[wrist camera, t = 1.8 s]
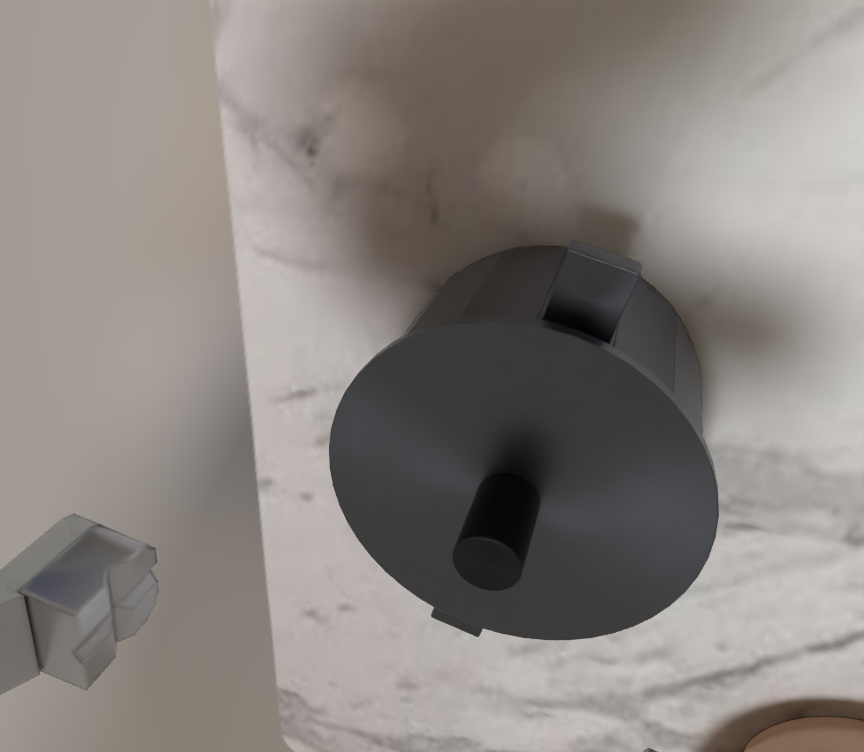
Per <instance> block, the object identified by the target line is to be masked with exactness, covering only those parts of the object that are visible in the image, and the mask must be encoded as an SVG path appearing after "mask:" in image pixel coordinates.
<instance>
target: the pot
mask: <svg viewBox="0 0 864 752" xmlns="http://www.w3.org/2000/svg"><path fill="white" fill-rule="evenodd" d="M641 268H642V263H640V262H637V261H634V260H631V259H628V258H626V257H623V256H620V255H617V254H614V253H611V252H608V251H605V250H603V249H600V248H597V247H594V246H591V245H588V244H585V243H582V242H579V241H577V240H572V241H571V243H570V245H569V248H566V247H559V246H531V247H522V248H515V249H511V250H507V251H502V252H498V253H496V254H493V255H491V256H488V257H485V258H483V259H480V260H479V261H477V262H475V263H473V264H471V265H469V266H468V267H466V268H464V269H463V270H462V271H460V272H458V273H456V274H454V275H453V276H451V277H450V279H449V280H448V281H447V282H446V283H445V284H444V286H443V287H442V288H441V289H440V290H439V291H438V292H437V294H436V295H435V296H434V297H433V299H432V300H431V301H430V302H429V303H428V304H427V306H426V307H425V308H424V309H423V310H422V311H421V313H420V314H419V315H418V317H417V318H416V319H415V320H414V322H413V323H412V324H411V326H410V327H409V328H408V329H407V331H406V332H405V333H404V335H403V336H405V335H407V334H409V333H411V332H413V331H415V330H417V329H420V328H423V327H426V326H429V325H431V324H434V323H437V322H441V321H446V320H451V319H456V318H461V317H468V316H482V315H504V316H521V317H527V318H533V319H538V320H544V321H549V322H553V323H556V324H559V325H563V326H566V327H569V328H573V329H576V330H579V331H581V332H583V333H586V334H588V335H590V336H593V337H595V338H597V339H600V340H602V341H604V342H606V343H608V344H610V345H611V346H613V347H615V348H616V349H618V350H620V351H622V352H623V353H625V354H627V355H628V356H630V357H632V358H633V359H634V360H636V361H637V362H638V363H639V364H641V365H642V366H643V367H645V368H646V369H647V370H649V371H650V372H651V373H653V374H654V375H655V376H656V377H657V378H658V379H659V380H660V381H661V382H662V383H663V384H664V385H665V386H666V387H667V388H668V389H669V390H670V391H671V392H672V393H673V394H674V395H675V396H676V397H677V399H678V400H679V401H680V402H681V404H682V405H683V406H684V408H685V409H686V410H687V411H688V413H689V414H690V415H691V417H692V419H693V420H694V422H695V424H696V426H697V427H698V429H699V431H700V433H701V434H702V436H703V430H702V400H701V370H700V363H699V360H698V358H697V356H696V354H695V350H694V347H693V344H692V342H691V339H690V336H689V333H688V332H687V330H686V328H685V326H684V324H683V323H682V321H681V319H680V317H679V316H678V314H677V313H676V312H675V310H674V309H673V308H672V306H671V305H670V304H669V302H668V301H667V300H666V299H665V298H664V297H663V296H662V295H661V294H660V293H659V292H658V291H657V290H656V289H655V288H654V287H653V286H652V285H650V284H649V283H648V282H647V281H645V280H644V279H643V278H641V277H640V275H641ZM403 336H402V337H403ZM431 617H432V618H435V619H437V620H439V621H442V622H444V623H446V624H449V625H451V626H453V627H456V628H458V629H460V630H462V631H465V632H467V633H469V634H472V635H474V636H476V637H479V636H480V633H481V631H482V629H483V628H480V627H478V626H475V625H472V624H470V623H467V622H464V621H462V620H459V619H457V618H455V617H453V616H451V615H449V614H447V613H444V612H442V611H440V610H438V609H437V608H435V607H434V609H433V612H432V614H431Z"/></svg>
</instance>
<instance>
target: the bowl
mask: <svg viewBox="0 0 864 752" xmlns="http://www.w3.org/2000/svg"><path fill="white" fill-rule="evenodd" d="M744 752H864V721H861V720H856V719H851V718H839V717H809V718H802V719H796V720H790V721H786V722H783V723H780V724H777V725H774V726H772V727H770V728H768V729H766V730H764V731H763V732H761V733H759V734H758V735H757V736H755V737H754V738H753V739H752V740H751V741H750V742H749V743H748V745H747V746H746V748H745V750H744Z"/></svg>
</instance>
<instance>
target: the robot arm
mask: <svg viewBox="0 0 864 752" xmlns="http://www.w3.org/2000/svg"><path fill="white" fill-rule="evenodd" d="M156 563H157V556H156V548H154V547H151V546H149V545H147V544H145V543H142V542H140V541H138V540H135V539H133V538H131V537H128V536H126V535H124V534H121V533H119V532H117V531H114V530H112V529H110V528H107V527H105V526H103V525H101V524H98V523H96V522H94V521H91V520H89V519H86V518H84V517H82V516H79V515H77V514H72V515H69V516H67V517H64V518H62V519H61V520H60V521H58V522H57V523H56V524H55V525H54V526H53V527H51V528H50V529H49V530H48V531H46V532H45V533H44V534H43V535H42V536H41V537H40V538H38V539H37V540H36V541H34V542H33V543H32V544H31V545H30V546H28V547H27V548H26V549H25V550H24V551H22V552H21V553H20V554H19V555H18V556H16V557H15V558H14V559H13V560H12V561H11V562H9V563H8V564H7V565H6V566H5V567H3V568H2V569H1V570H0V695H1V694H3V693H5V692H7V691H9V690H11V689H13V688H15V687H16V686H19V685H21V684H22V683H24V682H26V681H28V680H30V679H32V678H34V677H36V676H38V675H40V671H41V672H44V673H46V674H49V675H51V676H53V677H56V678H58V679H60V680H63V681H65V682H68V683H70V684H72V685H75V686H77V687H79V688H81V689H84V690H87V689H88V688H89V687H90V686H91V685H92V684H93V683H94V681H95V680H96V679H97V678H98V677H99V676H100V675H101V673H102V672H103V671H104V670H105V669H106V667H108V665H109V664H110V663H111V662H112V661H113V660H114V659H115V657H116V649H117V642H119V641H122V640H124V639H127V638H129V637H132V636H134V635H135V634H136V633H137V632H138V631H139V630H140V628H141V627H142V626H143V625H144V624H145V622H146V621H147V619H148V617H149V616H150V614H151V612H152V610H153V608H154V606H155V604H156V600H157V596H158V591H159V590H158V589H159V588H158V580H157V578H156V577H155V575H154V574H153V572H152V571H151V568H152V567H153V566H154V565H155V564H156ZM643 752H658V751H655V750H652V749H650V748H647V749H646V750H644V751H643Z"/></svg>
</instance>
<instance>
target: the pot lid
mask: <svg viewBox="0 0 864 752" xmlns="http://www.w3.org/2000/svg"><path fill="white" fill-rule="evenodd" d="M329 460H330V471H331V476H332V482H333V487H334V490H335V493H336V496H337V499H338V502H339V505H340V507H341V509H342V511H343V514H344V516H345V518H346V520H347V522H348V524H349V525H350V527H351V529H352V530H353V532H354V534H355V535H356V537H357V538H358V540H359V541H360V543H361V544H362V545H363V546H364V548H365V549H366V550H367V552H368V553H369V554H370V555H371V557H372V558H373V559H374V560H375V561H376V562H377V563H378V564H379V565H380V566H381V567H382V568H383V569H384V570H385V571H386V572H387V573H388V574H389V575H390V576H391V577H393V578H394V579H395V580H396V581H397V582H398V583H399V584H401V585H402V586H403V587H404V588H406V589H407V590H409V591H410V592H411V593H413V594H414V595H416V596H417V597H418V598H420V599H421V600H423V601H425V602H427V603H428V604H430V605H432V606H433V607H435V608H437V609H438V610H440V611H442V612H444V613H447V614H449V615H451V616H453V617H455V618H457V619H459V620H462V621H464V622H467V623H470V624H472V625H475V626H478V627H480V628H484V629H487V630H491V631H494V632H498V633H501V634H507V635H512V636H517V637H522V638H531V639H541V640H575V639H585V638H593V637H598V636H603V635H607V634H612V633H615V632H618V631H621V630H624V629H627V628H630V627H633V626H635V625H637V624H640V623H642V622H644V621H646V620H648V619H650V618H652V617H654V616H655V615H657V614H658V613H660V612H661V611H663V610H664V609H666V608H667V607H669V606H670V605H671V604H672V603H674V602H675V601H676V600H677V599H678V598H679V597H680V596H681V595H682V594H684V593H685V592H686V590H687V589H688V588H689V587H690V585H691V584H692V583H693V582H694V580H695V579H696V578H697V577H698V575H699V574H700V572H701V570H702V568H703V566H704V565H705V563H706V561H707V559H708V557H709V555H710V552H711V549H712V546H713V543H714V540H715V537H716V531H717V524H718V517H719V509H718V485H717V480H716V475H715V470H714V465H713V461H712V458H711V456H710V453H709V451H708V448H707V445H706V443H705V440H704V438H703V436H702V434H701V433H700V431H699V429H698V427H697V426H696V424H695V422H694V420H693V419H692V417H691V415H690V414H689V413H688V411H687V410H686V409H685V408H684V406H683V405H682V404H681V402H680V401H679V400H678V399H677V397H676V396H675V395H674V394H673V393H672V392H671V391H670V390H669V389H668V388H667V387H666V386H665V385H664V384H663V383H662V382H661V381H660V380H659V379H658V378H657V377H656V376H655V375H654V374H653V373H651V372H650V371H649V370H647V369H646V368H645V367H643V366H642V365H641V364H639V363H638V362H637V361H636V360H634V359H633V358H632V357H630V356H628V355H627V354H625V353H623V352H622V351H620V350H618V349H616V348H615V347H613V346H611V345H610V344H608V343H606V342H604V341H602V340H600V339H597V338H595V337H593V336H590V335H588V334H586V333H583V332H581V331H579V330H576V329H573V328H569V327H566V326H563V325H559V324H556V323H553V322H549V321H544V320H538V319H533V318H527V317H521V316H504V315H482V316H468V317H461V318H456V319H451V320H446V321H441V322H437V323H434V324H431V325H429V326H426V327H423V328H420V329H417V330H415V331H413V332H411V333H409V334H407V335H405V336H403V337H401V338H399V339H397V340H395V341H394V342H392V343H391V344H390V345H388V346H387V347H386V348H384V349H383V350H381V351H380V352H379V353H377V354H376V355H375V356H374V357H373V358H372V359H371V360H370V361H369V362H368V363H367V364H366V365H365V366H364V367H363V368H362V369H361V371H360V372H359V373H358V374H357V376H356V377H355V379H354V380H353V381H352V383H351V384H350V386H349V387H348V388H347V390H346V391H345V393H344V395H343V397H342V399H341V402H340V404H339V406H338V408H337V410H336V414H335V417H334V421H333V424H332V428H331V435H330V444H329Z"/></svg>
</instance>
